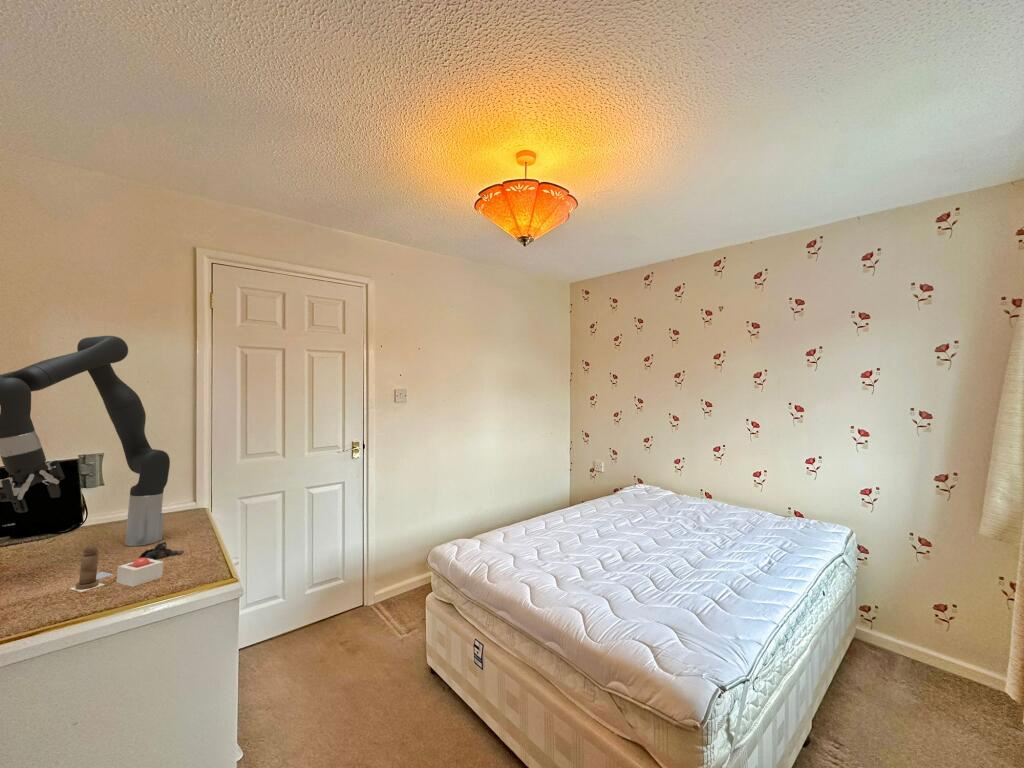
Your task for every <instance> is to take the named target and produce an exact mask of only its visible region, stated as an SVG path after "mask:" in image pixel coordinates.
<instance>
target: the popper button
mask: <svg viewBox="0 0 1024 768" xmlns="http://www.w3.org/2000/svg"><path fill="white" fill-rule="evenodd" d="M138 558H139V557H138ZM138 558H137V559H135V560H134V561H133V562H134V563H133V565H132V567H135V568H139V567H142V566H146V565H149V564H151V563H150V561H149V559H147V558H139V559H138Z"/></svg>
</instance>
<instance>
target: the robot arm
mask: <svg viewBox="0 0 1024 768" xmlns="http://www.w3.org/2000/svg"><path fill="white" fill-rule="evenodd" d="M76 348H77V351H76V352H75V351H74V352H71V353H67V354H64V355H63V354H62V355H59V356H55V357H52V358H47V359H44V360H41V361H37V362H35V363H33V364H30V365H28V366H24V367H23V368H20V369H17V370H13V371H10V372H6V373H2V374H0V459H1V461H2V464H3V467H4V469H5V471H6V472H8V477H7V478H3V479H0V502H1V503H2V502H3V503H4V502H11V503H12V506H13V510H14V511H15V512H16V513H18V514H21V513H23V514H24V513H26V512H28V511H29V508H28V505H27V502H26V500H25V498H24V496H25V493H26V492H27V491H28V490H29V488H30V487H32V486H35V485H36V484H39V483H43V484H45V485H47V486H46V488H47V491H48V493H49V497H50V498H51V499H54V498H60V497H61V493H62V491H61V488H60V485H59V483H60V482H61V481H63V480H64V479H65V478H66V476H65V474H64V472H63V469H62V466H61V464H60V462H59V460H49V461H47V458H46V455H45V452H44V449H43V446H42V443H41V441H40V440H41V439H40V437H39V435H38V434H37V432H36V430H35V427H34V424H33V421H32V418H31V411H32V392H37V391H41V390H44V389H46V388H49V387H52V386H54V385H55V384H57V383H60V382H62V381H65V380H67V379H70V378H72V377H74V376H77V375H79V374H81V373H84V372H88V374H89V376H90V377H91V380H92V381H93V383H94V385H95V386H96V389H97V392H98V394H99V395H100V397H101V399H102V402H103V405H104V406H105V409H106V411H107V414H108V415H109V416H108V417H109V419H110V420H111V422H112V425H113V427H114V429H115V432H116V433H117V436H118V438H119V440H120V443H121V446H122V450H123V452H124V456H125V461H126V464H127V467H128V468H129V469H130V471H132V472H133V473H135V474H137V475H139V478H138V481H137V483H136V484H134V485H133V486H131V487H130V490H129V491H130V492H129V499H128V509H127V510H128V511H127V518H126V519H127V521H126V530H125V531H126V532H125V539H124V540H125V541H124V542H125V543H124V545H125V546H129V547H136V546H137V547H139V546H146V545H151V544H154V543H157V542H158V541H159V542H160V541H162V540H163V532H164V524H165V523H164V521H165V513H164V512H163V502H164V501H163V500H164V491H165V487H166V486H167V483H168V481H169V474H170V473H169V472H170V467H171V460H170V456H169V453H167V451H164V450H161V449H155V448H152V447H151V445H150V443H149V441H148V439H147V437H146V433H145V432H146V430H145V428H146V419H147V418H146V417H147V414H146V410H145V408H144V405H143V403H142V401H141V398H140V396H139V395H138V393H137V392H136V391H135V390H133V389H132V388H131V387H130V386H129V385H127V383H125V382H124V381H123V380H121V379H120V377H119V376H118V375H117V374H116V372H115V371H114V368H113V367H112V364H115V363H119V362H121V361H123V360H125V359H126V357H127V356H128V354H129V347H128V344H127V343H126V341H125V340H124V339H123V338H121V337H118V336H114V335H100V336H91V337H89V336H88V337H85V338H82V339H80V340H79V342H78V343H77V347H76ZM48 472H49V473H48Z"/></svg>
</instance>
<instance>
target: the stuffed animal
mask: <svg viewBox="0 0 1024 768" xmlns="http://www.w3.org/2000/svg"><path fill="white" fill-rule="evenodd" d="M167 546H168V545H167V542H166V541H159V542H158V543H157V544H156V545H155V546H154V548H151V549H146V550H145V551H143V552H142V553H141V555H140V556H139V557H138V558H137V559H139V558H149V559H153V560H160V559H162V558H164V557H165V556H166V557H174V556H182V555H184V554H185V550H184V549H177V550H176V549H175V550H172V549H170V548H168V547H167Z"/></svg>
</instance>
